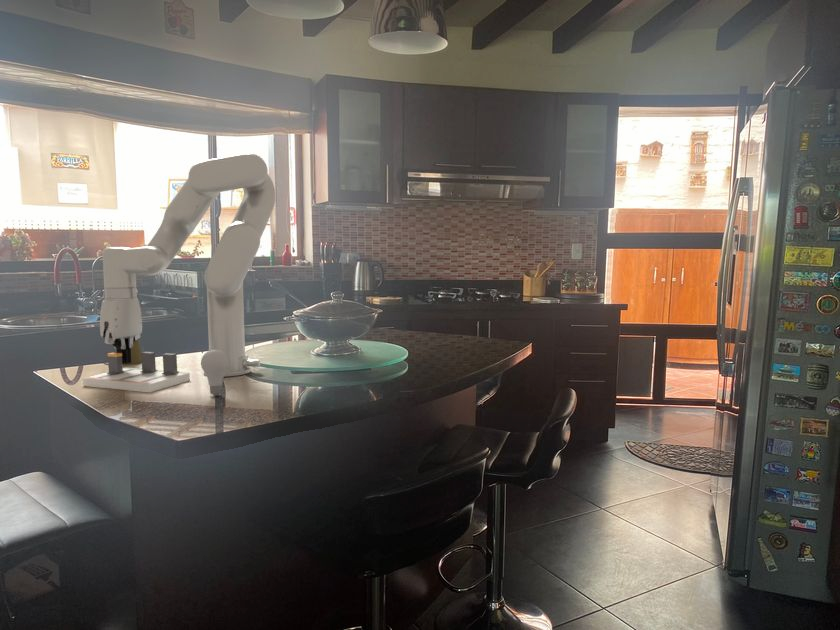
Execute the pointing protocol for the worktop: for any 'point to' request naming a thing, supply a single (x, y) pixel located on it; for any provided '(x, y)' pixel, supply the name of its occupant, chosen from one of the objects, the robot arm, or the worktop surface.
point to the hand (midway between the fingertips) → (124, 363)
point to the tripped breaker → (115, 363)
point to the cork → (135, 353)
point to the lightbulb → (214, 369)
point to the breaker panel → (136, 380)
